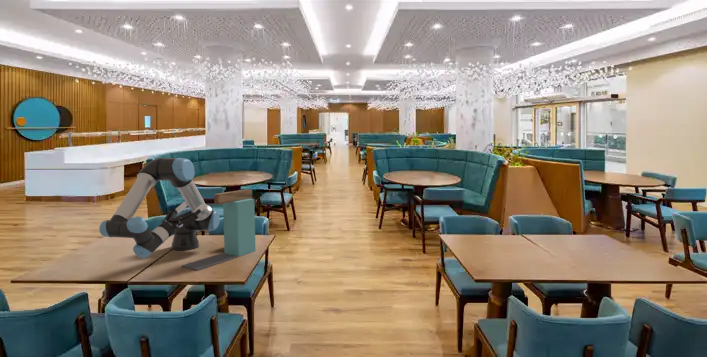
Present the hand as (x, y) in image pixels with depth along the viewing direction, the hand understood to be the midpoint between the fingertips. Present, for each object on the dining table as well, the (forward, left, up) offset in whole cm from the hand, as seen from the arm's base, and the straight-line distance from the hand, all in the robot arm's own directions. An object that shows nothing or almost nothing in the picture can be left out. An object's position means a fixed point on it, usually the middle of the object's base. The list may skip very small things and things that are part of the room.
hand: (194, 204), depth 226 cm
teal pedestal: (+4, +26, -31) cm, 41 cm away
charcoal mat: (+4, +5, -31) cm, 31 cm away
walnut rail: (+4, +23, -1) cm, 23 cm away
